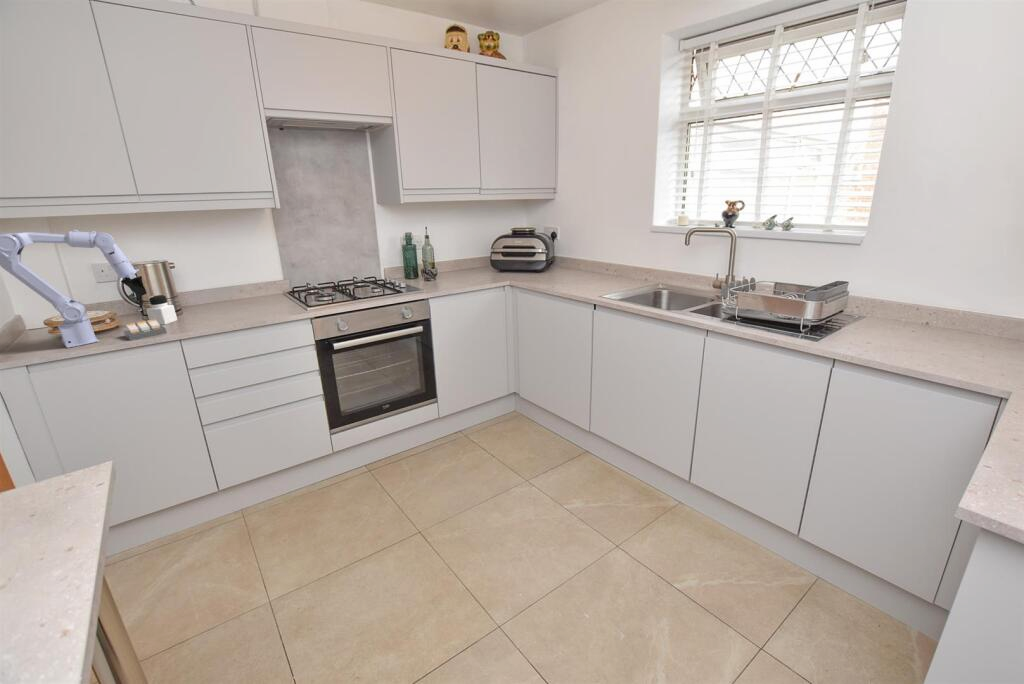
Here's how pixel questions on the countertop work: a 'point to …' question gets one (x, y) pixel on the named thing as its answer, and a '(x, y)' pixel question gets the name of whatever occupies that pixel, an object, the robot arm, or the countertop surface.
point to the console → (144, 333)
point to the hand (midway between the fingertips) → (141, 294)
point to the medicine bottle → (161, 310)
